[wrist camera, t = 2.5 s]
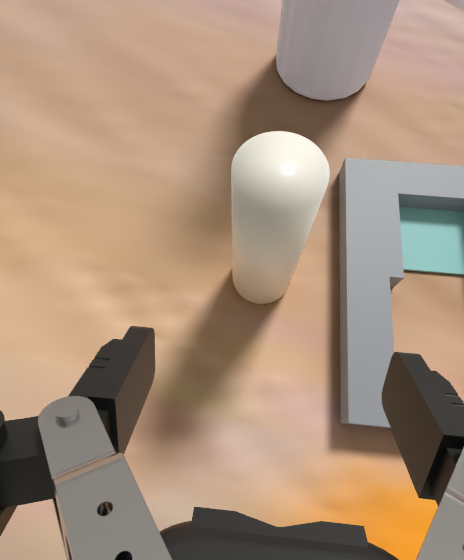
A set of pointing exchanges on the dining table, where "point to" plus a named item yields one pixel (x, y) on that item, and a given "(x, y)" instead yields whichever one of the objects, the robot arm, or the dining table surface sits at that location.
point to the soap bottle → (330, 44)
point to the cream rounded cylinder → (273, 210)
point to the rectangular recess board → (388, 263)
